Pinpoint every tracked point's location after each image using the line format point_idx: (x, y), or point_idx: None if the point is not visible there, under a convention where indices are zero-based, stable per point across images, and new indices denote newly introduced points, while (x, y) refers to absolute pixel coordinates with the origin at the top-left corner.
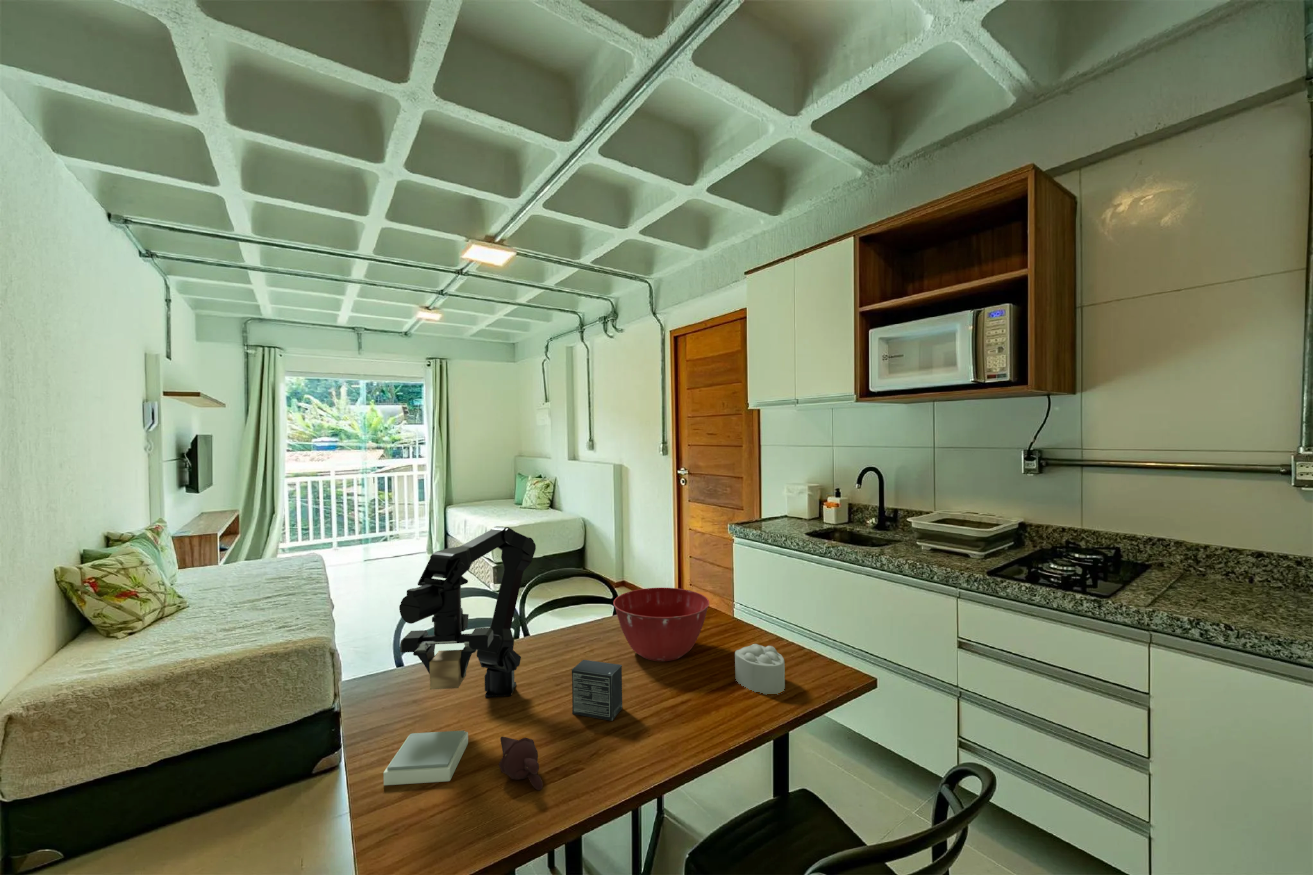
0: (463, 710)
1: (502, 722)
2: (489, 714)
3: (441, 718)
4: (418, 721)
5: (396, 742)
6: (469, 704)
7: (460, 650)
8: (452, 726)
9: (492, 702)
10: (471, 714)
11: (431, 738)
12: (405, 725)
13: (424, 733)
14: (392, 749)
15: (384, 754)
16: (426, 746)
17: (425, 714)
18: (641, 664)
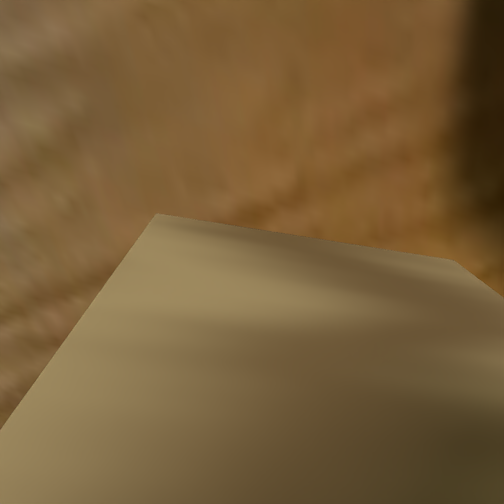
0: (317, 76)
1: (499, 257)
2: (452, 165)
3: (206, 136)
4: (86, 133)
5: (47, 296)
6: (350, 4)
7: None
8: (274, 231)
9: (486, 22)
10: (362, 138)
11: None
12: (29, 157)
13: None
14: (52, 340)
15: (33, 364)
16: None
17: (102, 59)
18: None
